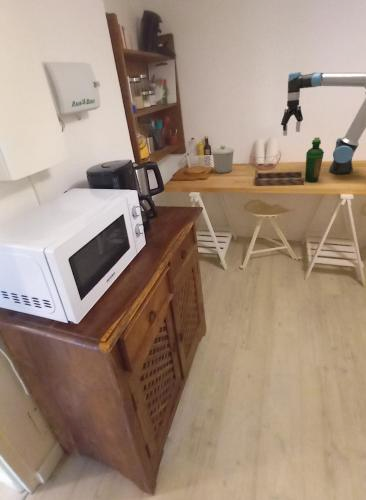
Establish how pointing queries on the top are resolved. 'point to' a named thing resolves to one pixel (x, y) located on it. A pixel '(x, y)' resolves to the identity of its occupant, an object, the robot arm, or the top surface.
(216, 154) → the canister
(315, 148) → the bottle
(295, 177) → the u rest
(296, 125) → the robot arm
